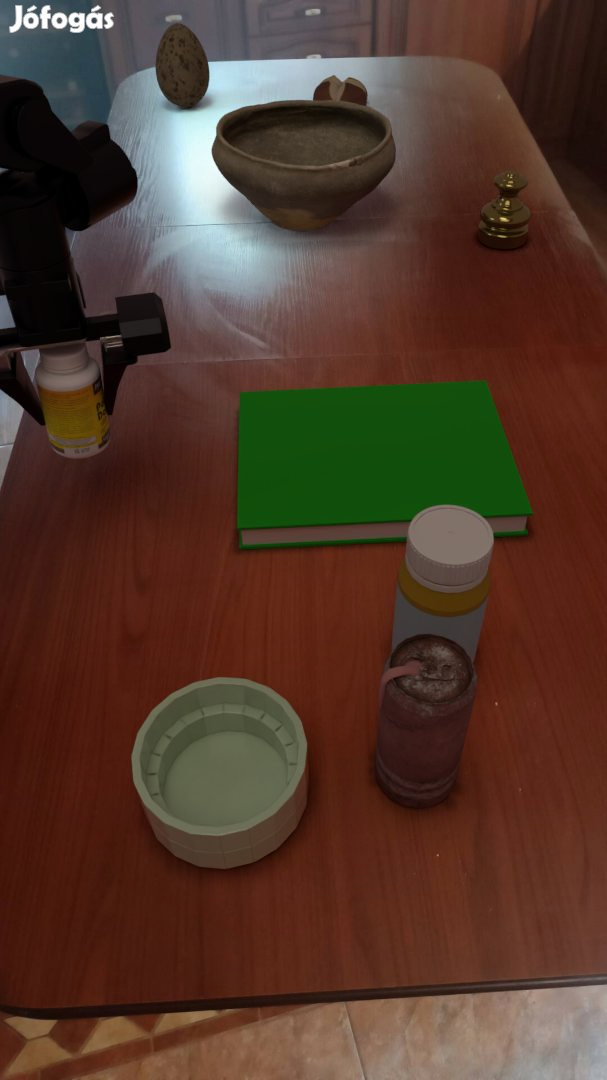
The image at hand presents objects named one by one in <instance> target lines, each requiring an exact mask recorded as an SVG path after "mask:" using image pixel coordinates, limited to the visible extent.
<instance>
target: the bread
mask: <svg viewBox="0 0 607 1080" xmlns="http://www.w3.org/2000/svg"><path fill="white" fill-rule="evenodd" d="M312 100H313V101H316V100H318V101H326V100H337V101H345V102H351V103H355V104H358V105H362V106H365V107H366V104H367V103H368V90H367V88H366V86H365V85H364V84H363V83H362V82H361V80H359V79H356V78H354V77H350V76H349V77H346V78H345V79H344V80H343V81H342V80H340V78H339V77H337V76H336V75H335V74H333V75H331V76H329V77H328V76H327V77H326V78H324V79H323V80H322V81H321V82H320V83H319V84H317V86H316V87H315V88H314V91H313V96H312Z"/></svg>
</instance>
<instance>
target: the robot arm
mask: <svg viewBox="0 0 607 1080" xmlns="http://www.w3.org/2000/svg"><path fill="white" fill-rule="evenodd" d="M0 169H4V170H2V171H0V297H2V296H3V297H4V296H5V298H6V302H7V304H8V307H9V312H10V314H11V317H12V320H13V321H12V322H13V323H14V326H11V327H5V328H0V391H1V392H3V394H5V395H7V396H8V397H10V398H11V399H12V400H13V401H14V402H16V403H17V404H18V405H19V406H20V407H21V408H22V409H23V410H24V411H25V412H26V413H27V414H28V415H29V416H30V417H31V418H33V419H34V420H35V422H36V423H38V424H39V425H40V426H41V427H44V426H45V427H46V423H45V419H44V415H43V410H42V406H41V402H40V397H39V394H38V393H37V390H36V388H35V386H34V384H33V382H32V378H31V376H30V374H29V372H28V370H27V368H26V364H25V362H24V359H23V355H22V352H26V351H32V350H33V351H35V350H39V349H42V348H49V347H56V346H64V345H71V344H78V343H87V342H94V341H99V345H100V357H101V372H102V373H101V374H102V385H103V390H104V397H105V407H106V410H107V415H108V417H109V416H113V414H114V409H115V404H116V399H117V394H118V389H119V387H120V386H119V385H120V384H121V381H122V379H123V376H124V374H125V372H126V369H127V367H128V366H133V365H135V364H137V363H138V361H139V357H141V356H148V355H156V354H161V353H166V352H168V351H170V349H172V344H171V338H170V331H169V330H170V329H169V326H168V321H167V315H166V311H165V306H164V302H163V299H162V297H161V296H160V295H158V294H157V293H156V292H145V293H138V294H137V293H136V294H130V295H122V296H116V297H114V300H115V307H116V309H110V310H104V311H102V312H100V313H98V314H97V315H93V316H87V315H86V310H85V309H87V301H86V297H85V293H84V289H83V283H82V281H81V280H82V279H81V277H80V275H79V273H78V271H77V270H76V267H75V266H76V265H75V261H74V257H73V256H72V251H71V247H70V243H69V238H68V234H67V230H66V229H68V230H70V231H73V232H83V231H85V230H88V229H89V228H91V227H93V226H94V225H96V224H98V223H99V222H101V221H103V220H105V219H106V218H108V217H111V216H112V215H113V214H115V213H116V212H118V211H120V210H122V209H123V208H125V207H126V206H128V205H130V204H131V203H132V202H133V201H134V200H135V199H136V196H137V194H138V188H139V182H138V181H139V180H138V174H137V171H136V169H135V168H134V167H133V164H132V161H131V160H130V159H129V157H128V155H127V154H126V151H124V149H123V148H122V147H121V146H120V145H119V144H118V143H117V142H116V141H114V140H113V139H112V138H111V132H110V126H109V125H108V124H107V123H104V122H100V121H95V120H89V119H88V120H86V121H83V122H82V123H80V124H78V125H77V126H76V127H75V128H74V129H72V130H71V131H70V130H69V128H68V127H67V126H66V125H65V124H64V122H62V120H61V119H60V118H59V117H58V115H56V114H55V112H54V111H53V110H52V107H51V104H50V102H49V99H48V97H47V96H46V94H45V93H44V88H43V87H42V86H41V85H40V84H38V83H37V82H36V81H33V80H29V79H26V78H23V77H18V76H17V77H16V76H11V75H7V74H0Z"/></svg>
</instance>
